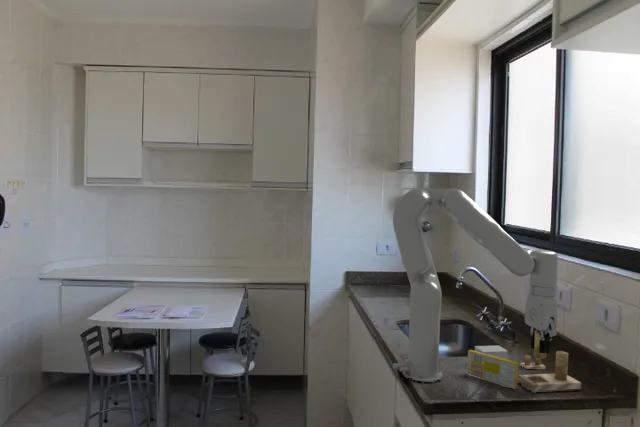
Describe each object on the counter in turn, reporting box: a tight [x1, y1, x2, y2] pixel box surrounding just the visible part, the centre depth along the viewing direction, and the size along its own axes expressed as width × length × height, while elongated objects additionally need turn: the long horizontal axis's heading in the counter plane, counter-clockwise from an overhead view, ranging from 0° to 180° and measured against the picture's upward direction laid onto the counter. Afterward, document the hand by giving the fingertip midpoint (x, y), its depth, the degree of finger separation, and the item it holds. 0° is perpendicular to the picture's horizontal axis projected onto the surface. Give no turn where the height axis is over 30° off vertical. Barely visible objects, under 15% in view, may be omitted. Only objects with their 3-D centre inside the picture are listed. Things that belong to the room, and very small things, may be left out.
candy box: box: [466, 349, 519, 388], centre depth 159 cm, size 16×2×8 cm, turn 44°
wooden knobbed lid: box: [519, 354, 546, 370], centre depth 173 cm, size 7×4×4 cm, turn 101°
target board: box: [517, 350, 582, 391], centre depth 156 cm, size 16×8×10 cm, turn 101°
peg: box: [533, 329, 547, 359], centre depth 155 cm, size 3×3×8 cm
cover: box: [474, 345, 509, 360], centre depth 174 cm, size 9×6×6 cm, turn 101°
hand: (540, 349), depth 155 cm, fingers closed on peg, 3 cm apart
